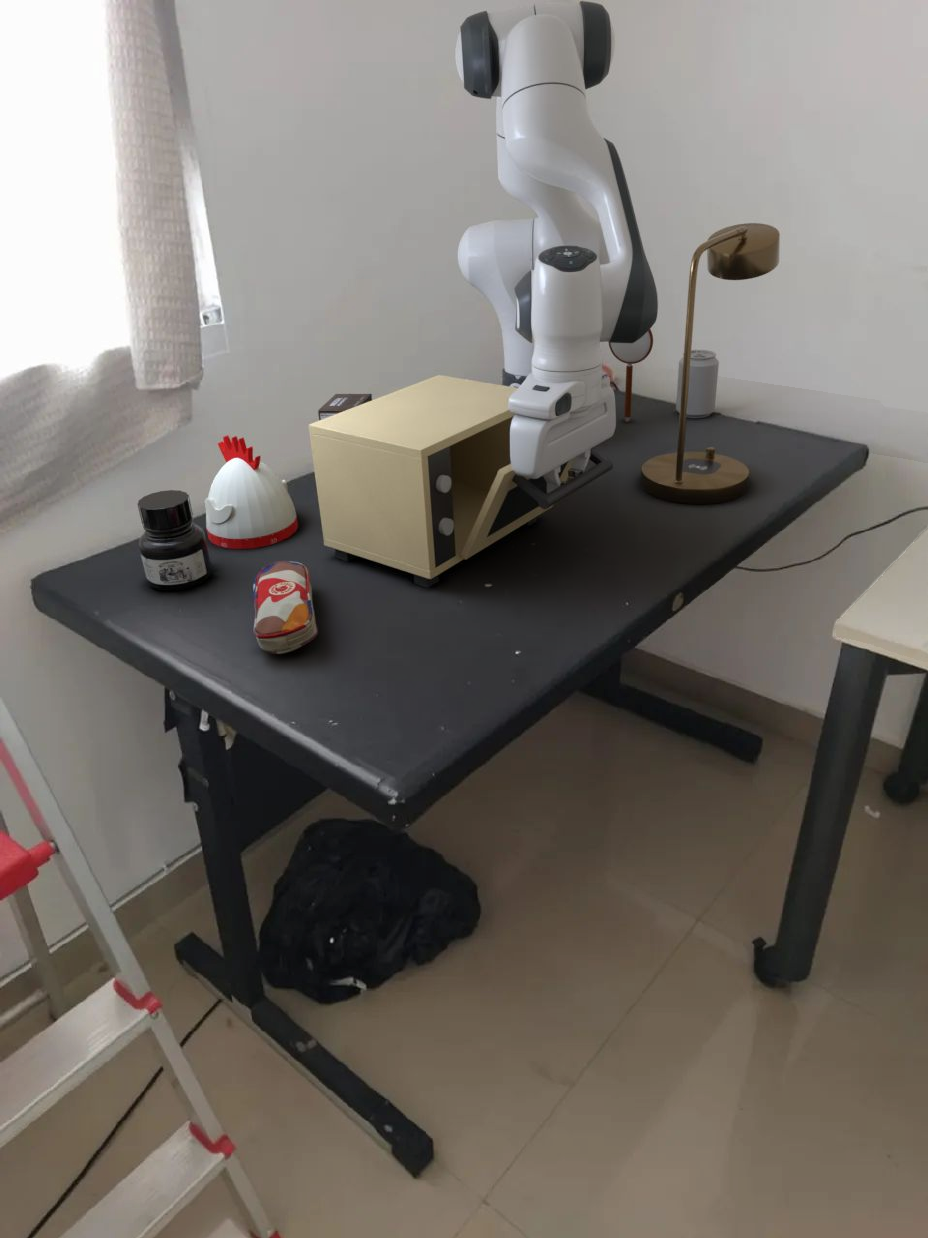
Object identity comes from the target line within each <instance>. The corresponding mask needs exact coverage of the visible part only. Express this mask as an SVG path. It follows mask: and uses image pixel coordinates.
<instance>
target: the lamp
mask: <svg viewBox="0 0 928 1238" xmlns="http://www.w3.org/2000/svg"><path fill="white" fill-rule="evenodd" d="M780 234H781V233H780V231H779V230H778V229H777V228H776V227H774V226H773V225H770V224H767V223H765V224H764V223H761V222H759V223H758V222H757V223H756V222H747V223H739V224H734V225H729V226H726V227H724V228H722V229H719V230H717V231H715V232H714V233H712V234H711V235H710V236H709V237H708V239H707V240H706V241H704V242H703V243H701V244H700V245H699V246H698V247H696V249H695V251H694V253H693V254H692V259H691V262H690V268H689V276H688V277H689V278H688V287H687V288H688V289H687V303H686V304H687V305H686V317H685V331H684V332H685V333H684V345H683V346H684V347H683V353H684V360H683V374H682V389H681V404H680V413H679V419H678V434H677V451H676V452H670V453H664V454H659V455H657V456H654V457H652V458H650V459H648V460H646V461H645V462H644V463H643V464H642V466H641V471H640V472H641V473H640V486H641V488H642V489H643V490H644V491H645V492H647V493H648V494H649V495H651V496H652V497H655V498H658V499H660V500H663V501H667V502H671V503H672V502H673V503H678V504H685V505H686V504H687V505H712V504H720V503H725V502H728V501H732V500H735V499H737V498H739V497H742V496H743V495H745V493H747V490H748V489H749V488H748V487H749V479H750V470H749V468H748V466H747V465H746V464H745V463H743V462H741V461H740V460H737V459H736V458H733V457H730V456H727V455H723V454H718V453H715V450H716V449H715V448H716V447H713V446H708V447H706V451H685V443H686V429H687V417H686V416H687V402H688V389H689V375H690V361H691V350H692V343H693V333H694V332H693V331H694V320H695V319H694V317H695V306H696V305H695V304H696V293H697V292H696V289H697V279H698V268H699V263H700V260H701V258H702V255H703V254H704V252H705V251H706V255H707V256H706V257H707V258H706V260H707V262H706V263H707V271H708V274H710V275H711V276H712V277H715V278H717V279H721V280H726V281H744V280H750V279H755V278H759V277H762V276H764V275H767V274H768V273H771V272H772V271H773V270H775V269H776V268H777V267H778V266H779V264H780V246H781V245H780V240H781V238H780V236H781V235H780Z"/></svg>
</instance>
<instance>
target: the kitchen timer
mask: <svg viewBox="0 0 928 1238" xmlns="http://www.w3.org/2000/svg"><path fill="white" fill-rule="evenodd" d="M217 446H218V449H219V451H220V453H221V455H222V456H223V458H224V461H225V464H224V465H222V467H221V468H220V469H219V470H218V472H217V473H216V475H215V476H214V478H213V481H212V482H211V486H210V488H209V492H208V495H207V497H206V498H205V499H204V509H205V528H206V534H207V538H208V540H209V541H210V542H211V544H213V545H216V546H217V547H220V548H225V549H231V550H232V549H233V550H246V549H248V550H249V549H258V548H262V547H263V548H264V547H267V546H270V545H274V544H276V543H277V544H278V543H280V542H283V541H284V540H286V539H288V538H290V537H291V536H292V535H293V534H295V533H296V532H297V529H298V528H299V522H298V517H297V512H296V507H295V505H294V502H293V500H292V498H291V495H290V493H289V491H288V488H289V486H288V483H287V481H286V480H285V479H281V478H280V477H279V476H278V475H277V474H276V473H275V472H274V471H273V469H271V468H270V467H269V466H268V465H267V464H266V463H264V462H263V461H261V455H257V456H255V457H254V454H253V453H254V447H253V445H251V446H249V447H247V444H246V440H245V438H244V437H240V438H238V436H237V435H235V436H233V437H230V436H229V435H228V434H227V435H224V436H222V441H219V442H217Z"/></svg>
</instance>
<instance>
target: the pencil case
mask: <svg viewBox="0 0 928 1238" xmlns="http://www.w3.org/2000/svg"><path fill="white" fill-rule="evenodd" d="M252 586H253V587H252V588H253V591H252V593H253V614H254V624H253V634H254V635H255V638H256V641H257V644H258V646H259V647H260V648H261V649H262V651H263V652H265V653H268V654H272V655H282V654H283V655H285V654H287V653H290V652H293V651H295V650H297V649H298V650H299V648H301V647H303V646H305V645H307V644H309V643H310V642H311V641H313V640H314V639H315V638H316V636H317V635H318V632H319V631H318V625H317V622H316V615H315V609H314V604H313V589H312V588H313V587H312V585H311V582H310V573H309V570H308V567H307V566H306V565H305V564H304V563H301V562H299V561H294V560H293V561H292V560H279V561H274V562H271V563H268V564H267V565H265V566H263V567H262V568H261V571H259V572H258V573H257V574H256V576H255V578H254V580H253V585H252Z"/></svg>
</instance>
